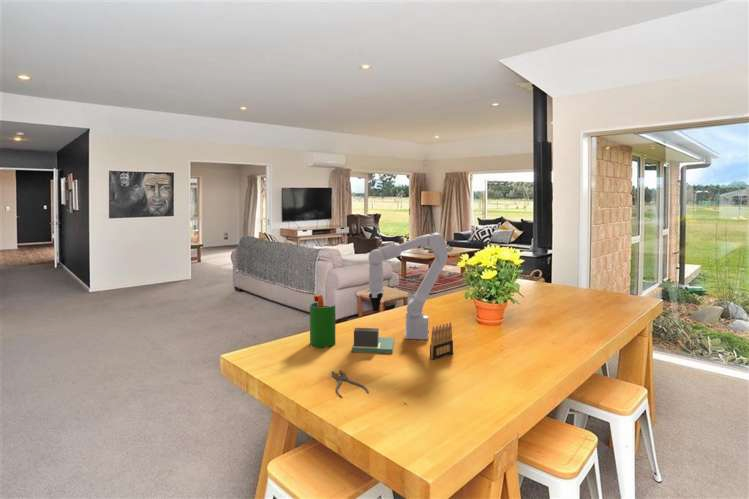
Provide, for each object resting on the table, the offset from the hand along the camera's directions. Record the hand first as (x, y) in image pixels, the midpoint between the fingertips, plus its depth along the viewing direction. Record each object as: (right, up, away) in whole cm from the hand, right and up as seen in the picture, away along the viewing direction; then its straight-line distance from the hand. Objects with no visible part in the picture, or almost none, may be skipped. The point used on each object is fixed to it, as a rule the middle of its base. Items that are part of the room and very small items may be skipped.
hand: (376, 311), depth 190 cm
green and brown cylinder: (-21, -12, -10) cm, 26 cm away
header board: (-1, -12, -13) cm, 17 cm away
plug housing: (-4, -11, -16) cm, 20 cm away
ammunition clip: (+24, -14, -23) cm, 36 cm away
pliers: (-11, -17, -47) cm, 52 cm away
